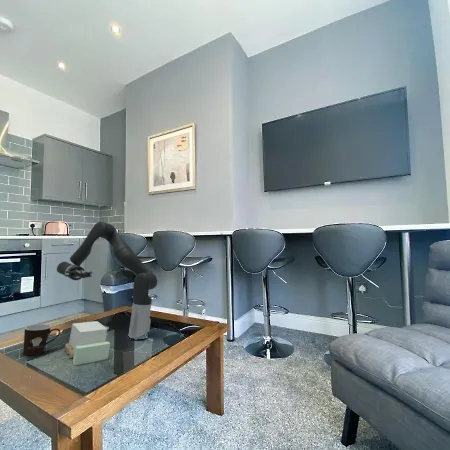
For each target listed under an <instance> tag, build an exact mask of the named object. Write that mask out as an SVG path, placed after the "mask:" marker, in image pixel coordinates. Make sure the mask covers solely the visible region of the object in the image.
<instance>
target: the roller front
mask: <svg viewBox="0 0 450 450" xmlns="http://www.w3.org/2000/svg"><path fill="white" fill-rule="evenodd" d="M73 357H74V349H72V350H70V351H69V354H68V358H69V359H73Z"/></svg>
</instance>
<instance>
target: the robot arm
mask: <svg viewBox="0 0 450 450" xmlns="http://www.w3.org/2000/svg"><path fill="white" fill-rule="evenodd" d="M116 229H117V228H115V226H114V225H113V224H110V223H107V222H104V221H98V222H96V223H95V224H94V225H93V227H92V228H91V230H90V231H89V232H88V235H87V236H86V237H85V239H84V240H83V242H82V243H81V245H80V246H78V248H77V249H76V250H75V251H74V253H72V255H71V256H70V258H69V260H70V262H71V263H69V262H68V261H61V262H60V263H58V265H57V266H56V272H57V273H59V274H60V275H63V276H64V277H66V278H68V279H70V280H73V281H79V280H81V279H87V278H92V276H93V271H86V270H85V269H84V267H82V266H81V265H83V263H84V261H85V260H87V258H88V257H89V256H90V254H91V252H92V248H93V245H94V243H95V242H96V241H97V240H98V239H104V240H106V241H107V242H108V243H109V244H110V246H111V247H112V252H113V256H114V257H115V258H116V259H117V261H118V262H119V263H120V264H121V266H123V267H125V268H126V269H128V271H131V272H132V273H133V274H134V275H136V276H135V277H134V280H133V286H132V287H133V289H132V299H133V301H132V307H131V308H132V309H131V315H130V323H129V330H128V335H127V337H128V336H129V337H130V338H135V337H139V336H142V335H144V334H146V333H147V332H149V333H150V329H151V320H152V319H151V318H150V316H151V308H152V302H153V301H152V300H153V299H152V297H150V296H149V291H150V290H153V289H155V288H156V287H157V285H158V278H157V276H156V274H155V273H154V272H153V271H152V270H151V269H149V268H148V267H147V266H146V265H145V264H144V262H143V261H142V260H141V259H140V258H139V257H138V255H137V254H136V253H135V252H134V250H133V249H132V247H130V246H129V245H128V243H127V242H126V241H125V240H124V239H123V238H122V236H120V233H118V231H117V230H116Z"/></svg>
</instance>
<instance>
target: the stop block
mask: <svg viewBox="0 0 450 450" xmlns="http://www.w3.org/2000/svg"><path fill="white" fill-rule="evenodd" d="M110 348H111V343H110V342H109V341H107V340H105V342H99V343H92V344H86V345H79V346H75V351H74V357H73V358H72V364H73V366H79V365H84V364H90V363H95V362H99V361H104V360H108V359H109V355H110Z"/></svg>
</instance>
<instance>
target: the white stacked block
mask: <svg viewBox="0 0 450 450" xmlns="http://www.w3.org/2000/svg"><path fill="white" fill-rule="evenodd" d="M107 334H108V328H107V327H106V326H104V325H103V324H102V323H100V322H99V321H96V320H95V321H86V322H75V323H71V330H70V335H69V341H68V343H69V344H70V345H71V347H72V348H73V349H74V351H75V346H79V345H86V344H92V343H99V342H106V341H107Z"/></svg>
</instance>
